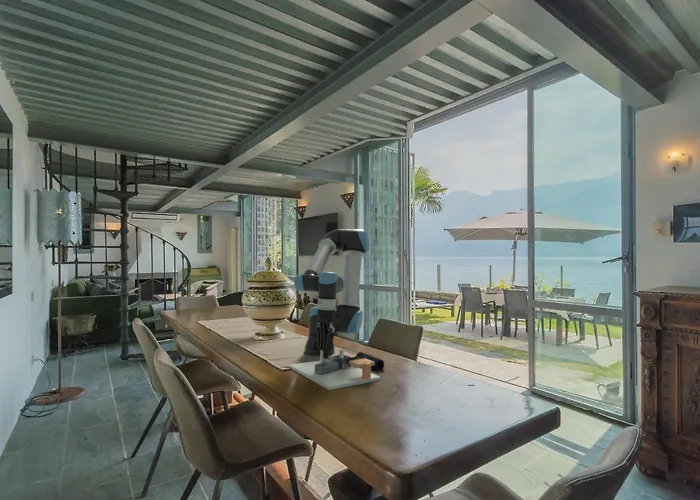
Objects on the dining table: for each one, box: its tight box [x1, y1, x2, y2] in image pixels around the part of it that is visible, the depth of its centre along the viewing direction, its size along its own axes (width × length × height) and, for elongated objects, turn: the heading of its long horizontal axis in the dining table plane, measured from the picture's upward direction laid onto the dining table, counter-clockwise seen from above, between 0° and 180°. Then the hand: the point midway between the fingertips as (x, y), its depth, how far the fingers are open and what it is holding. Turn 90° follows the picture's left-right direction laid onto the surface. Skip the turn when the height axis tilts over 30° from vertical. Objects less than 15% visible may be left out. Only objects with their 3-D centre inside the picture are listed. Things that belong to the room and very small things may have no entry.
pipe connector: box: [350, 351, 385, 372], centre depth 170 cm, size 12×5×15 cm
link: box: [315, 354, 351, 374], centre depth 159 cm, size 18×6×4 cm, turn 142°
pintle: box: [338, 350, 345, 358], centre depth 164 cm, size 2×2×8 cm
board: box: [288, 358, 381, 391], centre depth 158 cm, size 24×32×1 cm
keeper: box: [349, 358, 375, 379], centre depth 151 cm, size 8×7×7 cm
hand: (323, 365), depth 159 cm, fingers closed
